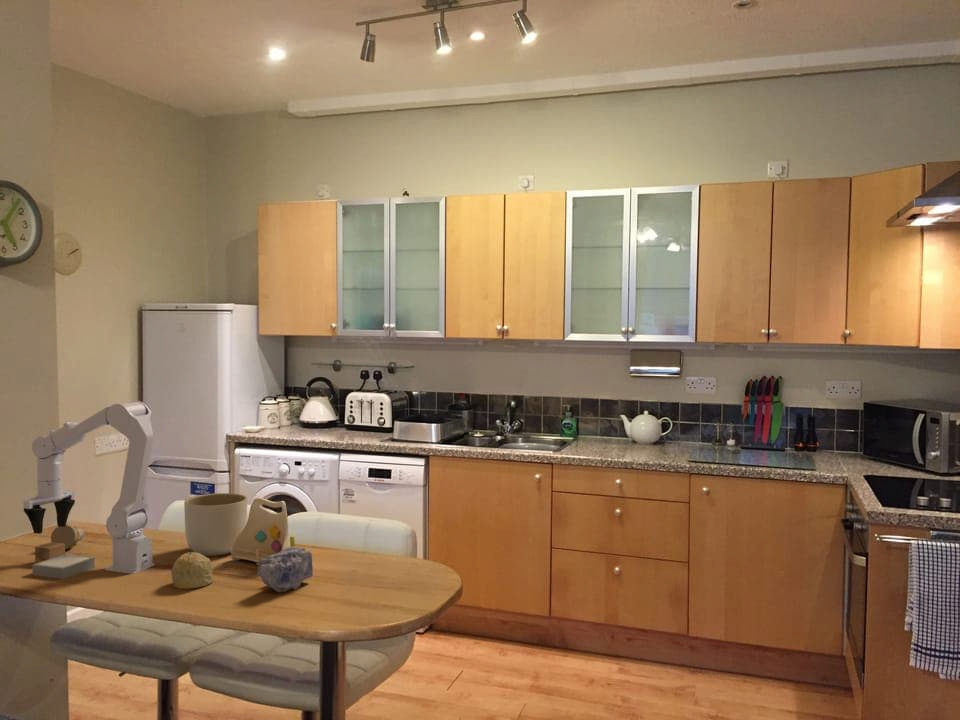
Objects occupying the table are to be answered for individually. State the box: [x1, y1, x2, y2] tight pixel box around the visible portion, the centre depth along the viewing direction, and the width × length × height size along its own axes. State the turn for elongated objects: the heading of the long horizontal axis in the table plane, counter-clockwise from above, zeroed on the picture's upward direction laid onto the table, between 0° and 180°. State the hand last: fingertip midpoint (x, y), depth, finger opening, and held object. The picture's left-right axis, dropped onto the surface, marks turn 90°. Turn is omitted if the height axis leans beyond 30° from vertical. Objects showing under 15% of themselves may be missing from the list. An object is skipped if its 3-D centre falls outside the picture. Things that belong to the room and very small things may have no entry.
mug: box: [50, 523, 85, 550], centre depth 217 cm, size 8×10×10 cm
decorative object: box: [170, 551, 214, 590], centre depth 185 cm, size 9×10×10 cm
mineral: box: [256, 546, 314, 593], centre depth 182 cm, size 14×10×10 cm, turn 157°
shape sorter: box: [230, 497, 296, 566], centre depth 205 cm, size 20×10×18 cm, turn 59°
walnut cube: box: [34, 541, 66, 564], centre depth 203 cm, size 5×5×5 cm
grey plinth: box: [31, 553, 96, 580], centre depth 195 cm, size 10×10×3 cm
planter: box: [183, 492, 248, 557], centre depth 215 cm, size 17×17×15 cm
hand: (49, 529), depth 202 cm, fingers open, 7 cm apart
